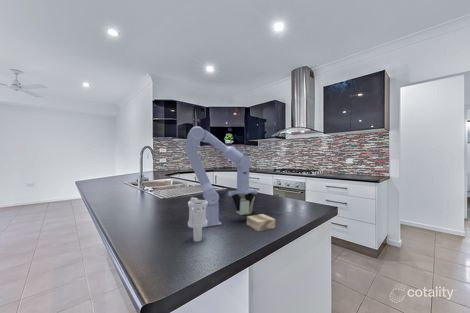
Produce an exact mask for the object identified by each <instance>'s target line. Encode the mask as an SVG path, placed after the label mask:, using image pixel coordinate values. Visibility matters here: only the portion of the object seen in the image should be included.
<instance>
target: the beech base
mask: <svg viewBox="0 0 470 313" xmlns="http://www.w3.org/2000/svg"><path fill="white" fill-rule="evenodd" d="M276 222H277V221H276V218H275V217H274V218H273V217H271V216H270V215H267V214H264V213H259V214H254V215H247V216H246V225H247V226H248V227H250V228H251V229H253V230H254V231H257V232H262V231H266V230H272V229H276Z"/></svg>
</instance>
